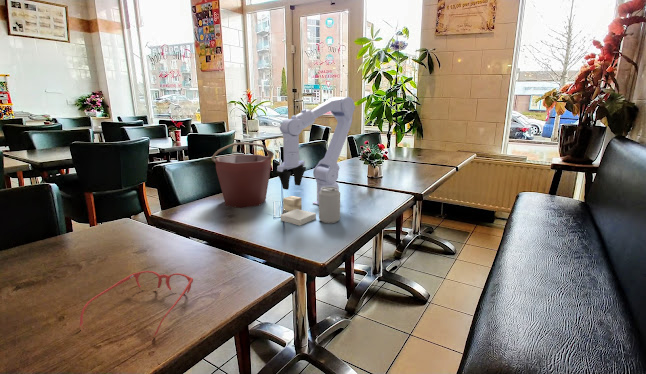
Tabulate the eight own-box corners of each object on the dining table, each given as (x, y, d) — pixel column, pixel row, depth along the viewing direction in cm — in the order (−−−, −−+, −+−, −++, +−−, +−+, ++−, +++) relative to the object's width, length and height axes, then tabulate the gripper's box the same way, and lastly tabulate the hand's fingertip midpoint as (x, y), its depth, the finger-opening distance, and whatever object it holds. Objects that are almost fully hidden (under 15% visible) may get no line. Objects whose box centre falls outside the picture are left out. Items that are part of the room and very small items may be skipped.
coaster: (297, 213, 131) (297, 208, 131) (315, 218, 126) (315, 213, 126) (280, 220, 124) (280, 214, 124) (299, 225, 119) (299, 220, 119)
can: (338, 225, 120) (338, 191, 117) (316, 223, 121) (316, 190, 118) (341, 218, 127) (341, 186, 124) (321, 216, 128) (321, 185, 125)
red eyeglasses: (202, 295, 77) (201, 274, 76) (159, 343, 62) (155, 318, 61) (132, 288, 80) (129, 268, 79) (73, 333, 65) (69, 309, 63)
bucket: (277, 195, 157) (275, 139, 151) (271, 210, 136) (269, 146, 130) (222, 195, 156) (218, 139, 150) (208, 210, 135) (203, 146, 129)
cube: (292, 207, 139) (291, 195, 138) (301, 209, 136) (301, 197, 135) (283, 210, 135) (283, 198, 134) (293, 213, 133) (292, 200, 131)
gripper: (294, 148, 138) (294, 182, 141) (270, 153, 126) (271, 189, 129) (308, 150, 134) (309, 184, 137) (285, 154, 122) (286, 192, 125)
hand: (291, 187), depth 133 cm, fingers open, 7 cm apart
